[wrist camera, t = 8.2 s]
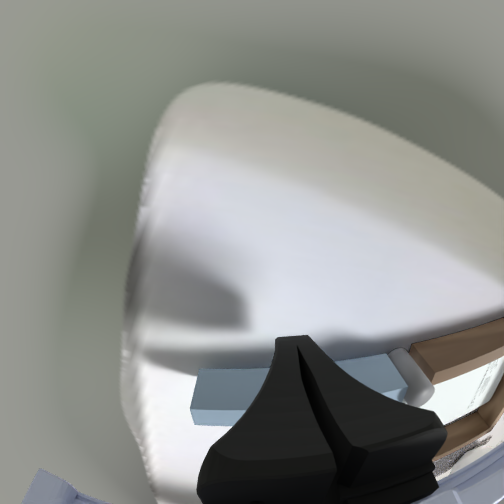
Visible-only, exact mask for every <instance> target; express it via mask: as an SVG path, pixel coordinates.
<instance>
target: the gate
mask: <svg viewBox="0 0 504 504" xmlns="http://www.w3.org/2000/svg"><path fill="white" fill-rule="evenodd" d="M334 362H335V363H336V364H337V365H338V366H339V367H340V368H342V369H343V370H344V371H345V372H347V373H348V374H349V375H350V376H352V377H353V378H355V379H356V380H358V381H359V382H361V383H363V384H364V385H366V386H367V387H369V388H371V389H373V390H375V391H377V392H379V393H381V394H383V395H385V396H387V397H389V398H392V399H394V400H396V401H399V402H402V401H403V399H404V400H405V402H406V403H407V404H408V405H411V406H414V407H420V406H422V405H424V404H425V403H426V402H428V401H429V400H430V398H431V397H432V396H433V394H434V392H435V388H434V386H433V385H432V383H431V382H430V381H429V379H428V378H427V377H426V375H425V374H424V373H423V371H422V370H421V369H420V367H419V366H418V365H417V364H416V362H415V361H414V360H413V358H412V357H411V356H410V354H409V353H408V352H407V351H406V349H404V348H397V349H394V350H393V351H391V352H390V353H389V354H388V355H387V354H386V353H385V354H379V355H374V356H368V357H362V358H355V359H349V360H342V361H334ZM269 369H270V367H269V368H245V369H199V373H198V377H197V381H196V385H195V389H194V393H193V398H192V402H191V406H190V411H191V415H192V418H193V421H194V425H207V426H234V424H235V423H236V422H237V421H238V420H239V419H240V418H241V417H242V415H243V414H244V413H245V412H246V410H247V409H248V408H249V406H250V405H251V403H252V402H253V400H254V399H255V397H256V396H257V394H258V392H259V391H260V389H261V387H262V385H263V383H264V381H265V379H266V376H267V374H268V372H269Z"/></svg>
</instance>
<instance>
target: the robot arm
mask: <svg viewBox="0 0 504 504" xmlns="http://www.w3.org/2000/svg"><path fill="white" fill-rule="evenodd" d="M447 434H448V432H447V430H446V428H445V426H444V425H443V423H442V422H441V420H440V418H439V417H438V416H437V414H436V413H435V412H434V411H431V410H427V409H422V408H418V407H414V406H411V405H408V404H405V403H402V402H399V401H396V400H394V399H392V398H389V397H387V396H385V395H383V394H381V393H379V392H377V391H375V390H373V389H371V388H369V387H367V386H366V385H364V384H363V383H361V382H359V381H358V380H356V379H355V378H353V377H352V376H350V375H349V374H348V373H347V372H345V371H344V370H343V369H342V368H340V367H339V366H338V365H337V364H336V363H335V362H334V361H333V360H332V359H330V358H329V357H328V356H327V355H326V354H325V353H324V352H323V351H322V350H321V349H320V348H319V347H318V345H317V344H316V343H315V342H314V341H313V340H312V339H311V338H310V337H309V336H308V335H301V336H288V337H278V338H276V339H275V353H274V357H273V360H272V363H271V366H270V369H269V372H268V374H267V376H266V379H265V381H264V383H263V385H262V387H261V389H260V391H259V392H258V394H257V396H256V397H255V399H254V400H253V402H252V403H251V405H250V406H249V408H248V409H247V410H246V412H245V413H244V414H243V415H242V417H241V418H240V419H239V420H238V421H237V422H236V423H235V424H234V426H233V427H232V428H231V429H230V430H229V431H228V432H227V433H226V434H225V435H223V436H222V437H221V438H220V439H219V440H218V441H217V442H215V443H214V444H213V445H212V446H211V447H210V449H209V451H208V453H207V455H206V457H205V459H204V461H203V464H202V466H201V469H200V472H199V476H198V483H197V495H198V496H199V498H200V500H201V501H202V503H203V504H497V503H498V502H499V501H501V500H502V499H503V498H504V442H502V443H501V444H500V445H498V446H497V447H495V448H494V449H492V450H491V451H489V452H488V453H486V454H485V455H483V456H482V457H480V458H479V459H477V460H475V461H474V462H472V463H470V464H469V465H467V466H465V467H463V468H462V469H460V470H458V471H456V472H454V473H453V474H451V475H449V476H447V477H445V478H443V479H441V480H439V481H436V479H435V477H434V475H433V472H432V471H433V470H434V469H435V465H434V463H433V462H432V459H433V458H434V457H435V455H436V454H437V453H438V451H439V450H440V449H441V447H442V446H443V444H444V442H445V441H446V438H447ZM21 504H111V503H108V502H105V501H102V500H99V499H96V498H94V497H91V496H88V495H85V494H83V493H80V492H78V491H77V490H76V489H75V488H74V487H73V486H72V485H71V484H70V483H68V482H67V481H66V480H64V479H62V478H60V477H58V476H56V475H54V474H52V473H49V472H48V471H46V470H43V469H41V468H39V470H38V472H37V474H36V476H35V477H34V479H33V481H32V483H31V485H30V487H29V489H28V491H27V493H26V495H25V497H24V499H23V501H22V503H21Z"/></svg>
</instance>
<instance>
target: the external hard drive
mask: <svg viewBox="0 0 504 504" xmlns="http://www.w3.org/2000/svg"><path fill="white" fill-rule="evenodd" d="M503 374H504V356H503V357H501V358H499V359H497V360H495V361H492V362H490V363H488V364H486V365H484V366H482V367H479V368H477V369H475V370H472V371H470V372H468V373H465V374H463V375H460V376H458V377H455V378H452V379H450V380H447V381H444V382H441V383H438V384H436V385H433V386H434V388H435V392H434V394H433V396H432V397H431V398H430V400H429V401H428V402H426V403H425V404H424V405H422V406H420V407H418V408H422V409H427V410H431V411H434V412H435V413H436V414H437V416H438V417H439V418H440V420H441V422H442V423H443V425H445V424H447V423H449V422H451V421H453V420H455V419H457V418H459V417H461V416H463V415H465V414H467V413H469V412H471V411H473V410H474V409H476V408H478V407H480V406H482V405H484V404H485V403H487V402H488V401H489V400H490V399H491V397H492V396H493V394H494V392H495V390H496V388H497V386H498V384H499V382H500V380H501V378H502V376H503ZM402 403H405V404H407V403H406V402H405V400H404V399H403V401H402Z"/></svg>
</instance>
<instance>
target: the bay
mask: <svg viewBox="0 0 504 504" xmlns="http://www.w3.org/2000/svg"><path fill="white" fill-rule="evenodd" d="M409 354H410V356H411V357H412V358H413V360H414V361H415V362H416V364H417V365H418V366H419V367H420V369H421V370H422V371H423V373H424V374H425V375H426V377H427V378H428V379H429V381H430V382H431V383H432V385H436V384H438V383H441V382H444V381H447V380H450V379H452V378H455V377H458V376H460V375H463V374H465V373H468V372H470V371H472V370H475V369H477V368H479V367H482V366H484V365H486V364H488V363H490V362H492V361H495V360H497V359H499V358H501V357H503V356H504V317H503V318H501V319H498V320H495V321H492V322H489V323H486V324H483V325H480V326H477V327H474V328H471V329H467V330H464V331H461V332H457V333H454V334H450V335H446V336H442V337H439V338H435V339H431V340H427V341H422V342H418V343H414V344H412V345H411V348H410V352H409ZM503 413H504V374H503V376H502V378H501V380H500V382H499V384H498V386H497V388H496V390H495V392H494V394H493V396H492V397H491V399H490V400H489V401H488V402H487V403H485V404H484V405H482V406H480V407H479V409H478V411H476V412H474V413H473V414H471V415H469V416H467V417H465V418H463V419H461V420H458V421H456V422H454V423H452V424H450V425H448V426H445V428H446V430H447V432H448V434H447V438H446V441H445V442H444V444H443V446H442V447H441V449H440V450H439V451H438V453H437V454H436V455H435V457H434V458H433V459H432V462H434V461H436V460H438V459H440V458H443V457H445V456H447V455H449V454H451V453H453V452H455V451H457V450H459V449H461V448H462V447H464V446H466V445H468V444H470V443H472V442H473V441H475V440H477V439H478V438H480V437H482V436H483V435H485V434H487V433H488V432H490V431H491V430H492V429H493V427H494V426H495V425H496V423H497V422H498V420H499V419H500V417H501V416H502V414H503Z"/></svg>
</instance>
